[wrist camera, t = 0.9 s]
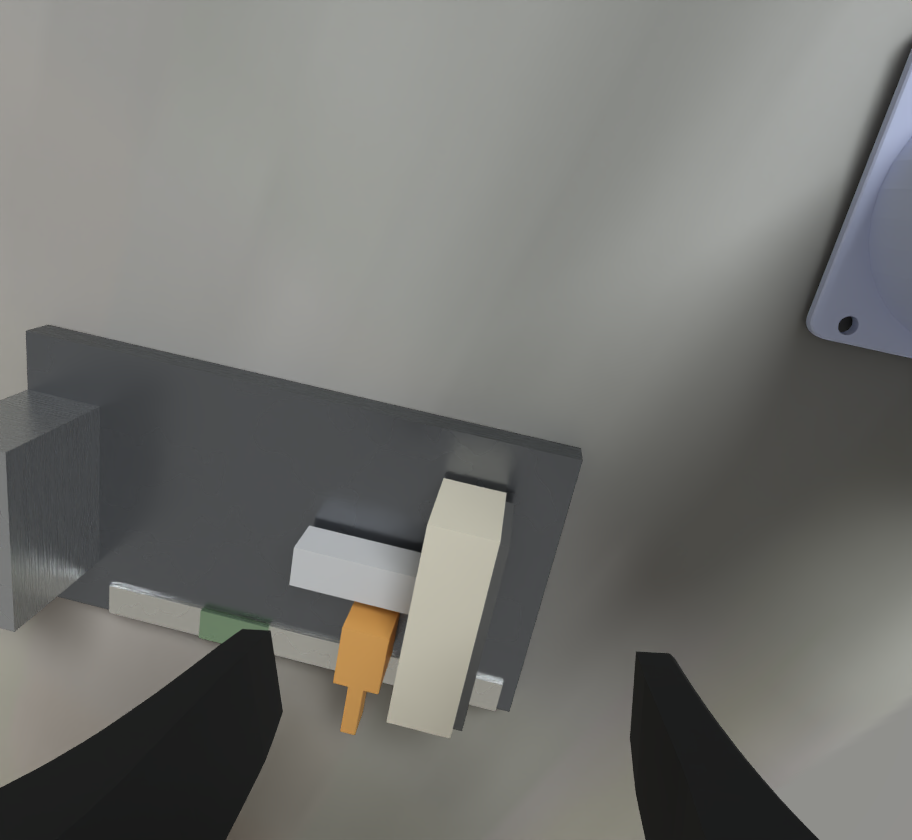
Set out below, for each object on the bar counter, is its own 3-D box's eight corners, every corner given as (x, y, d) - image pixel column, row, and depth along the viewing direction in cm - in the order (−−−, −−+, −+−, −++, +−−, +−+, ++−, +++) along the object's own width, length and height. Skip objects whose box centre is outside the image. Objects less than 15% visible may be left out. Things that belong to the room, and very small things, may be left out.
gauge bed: (580, 448, 21) (591, 523, 16) (510, 691, 24) (502, 811, 20) (48, 324, 22) (-88, 361, 17) (54, 575, 25) (-58, 663, 21)
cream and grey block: (516, 495, 20) (511, 544, 17) (470, 672, 23) (459, 740, 20) (319, 448, 21) (284, 489, 18) (295, 628, 23) (260, 689, 20)
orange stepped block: (402, 600, 22) (389, 639, 20) (383, 695, 23) (369, 739, 22) (359, 590, 22) (342, 627, 20) (342, 684, 24) (325, 727, 22)
